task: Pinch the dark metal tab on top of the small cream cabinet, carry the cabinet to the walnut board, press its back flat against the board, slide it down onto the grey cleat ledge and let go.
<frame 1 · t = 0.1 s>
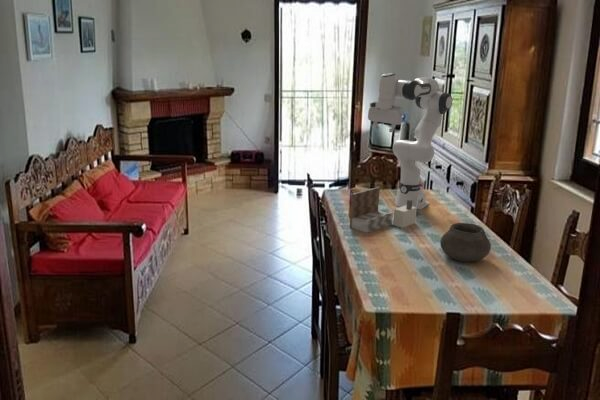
hand: (383, 130, 276), 48 cm above the table, tool pointing down, fingers open, 8 cm apart
candy box: (356, 216, 288), on the table
clay pot: (463, 258, 235), on the table
cleat rack: (363, 222, 277), on the table
cabinet: (404, 224, 278), on the table
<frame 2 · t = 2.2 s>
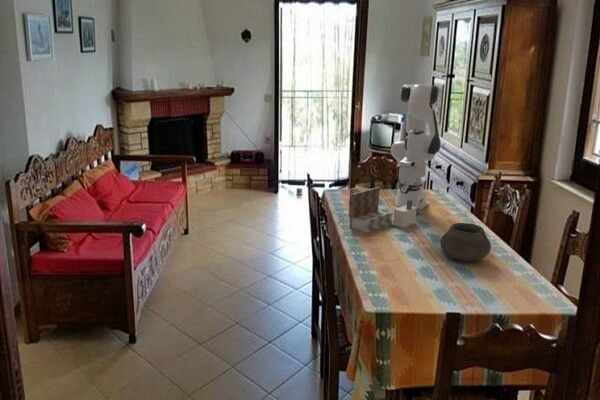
hand: (411, 187, 271), 21 cm above the table, tool pointing down, fingers open, 8 cm apart
nothing on the table moved.
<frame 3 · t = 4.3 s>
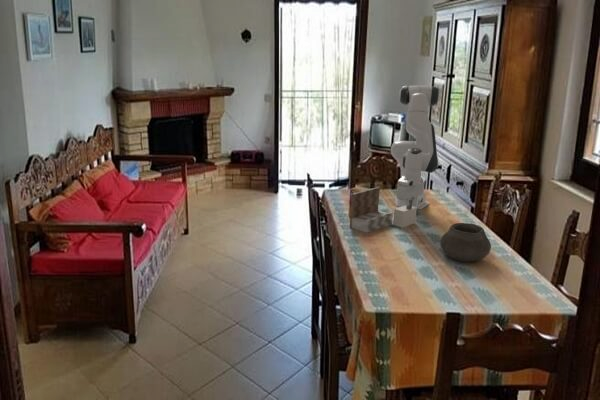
hand: (409, 205, 274), 11 cm above the table, tool pointing down, fingers closed on cabinet
cabinet: (404, 223, 278), on the table, touching gripper
everything else where it was.
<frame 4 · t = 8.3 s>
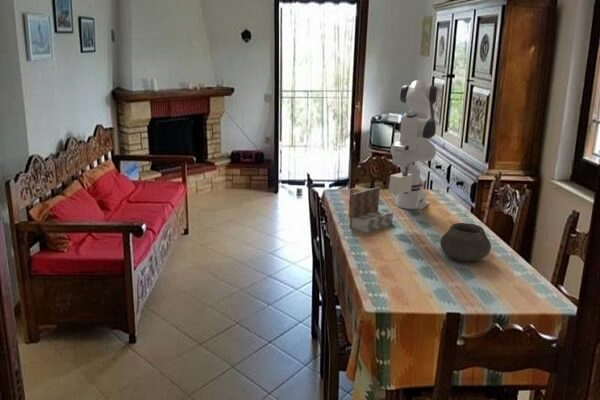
hand: (405, 171, 267), 29 cm above the table, tool pointing down, fingers closed on cabinet
cabinet: (399, 191, 272), point 18 cm above the table, touching gripper
everything else where it was.
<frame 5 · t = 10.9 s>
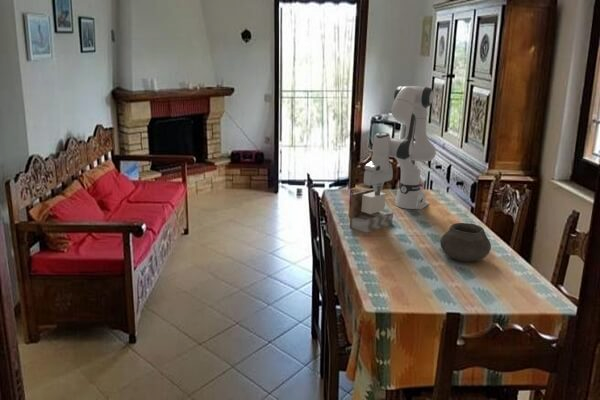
hand: (377, 191, 267), 19 cm above the table, tool pointing down, fingers closed on cabinet
cabinet: (372, 210, 271), point 8 cm above the table, touching gripper
everything else where it was.
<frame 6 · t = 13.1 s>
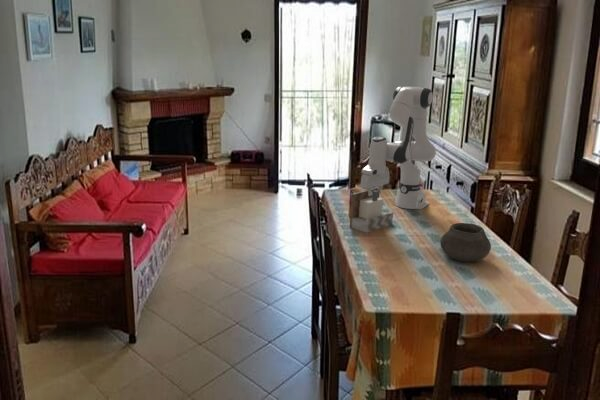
hand: (374, 194, 269), 17 cm above the table, tool pointing down, fingers open, 6 cm apart
cabinet: (370, 215, 273), point 5 cm above the table, touching cleat rack
everything else where it was.
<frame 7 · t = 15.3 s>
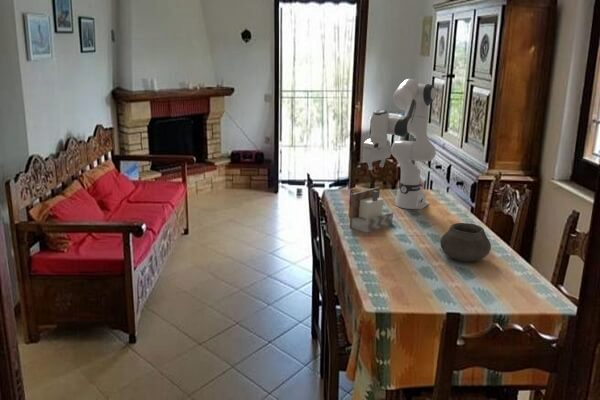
hand: (376, 168, 269), 30 cm above the table, tool pointing down, fingers open, 8 cm apart
nothing on the table moved.
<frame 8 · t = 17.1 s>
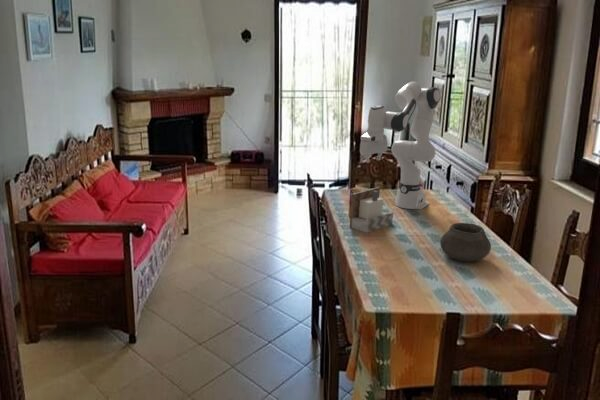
hand: (373, 161, 281), 31 cm above the table, tool pointing down, fingers open, 8 cm apart
nothing on the table moved.
at the end: cabinet inside the target area on the cleat rack (1.0 cm from its centre), point 5.0 cm above the cleat rack's base; cabinet tilted 0°; the gripper is holding nothing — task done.
